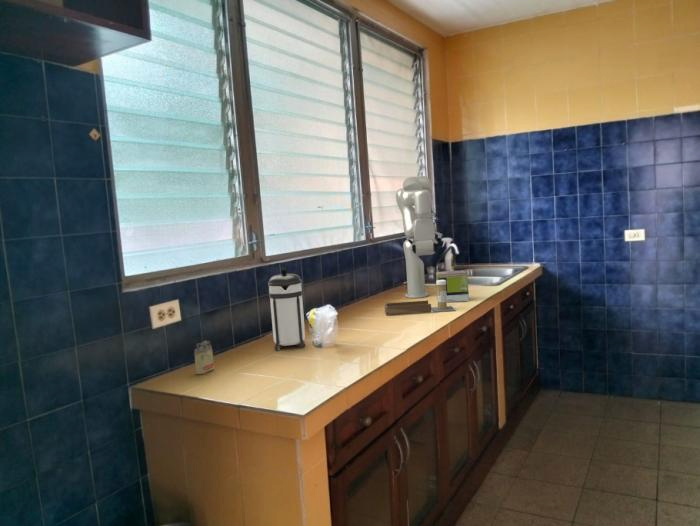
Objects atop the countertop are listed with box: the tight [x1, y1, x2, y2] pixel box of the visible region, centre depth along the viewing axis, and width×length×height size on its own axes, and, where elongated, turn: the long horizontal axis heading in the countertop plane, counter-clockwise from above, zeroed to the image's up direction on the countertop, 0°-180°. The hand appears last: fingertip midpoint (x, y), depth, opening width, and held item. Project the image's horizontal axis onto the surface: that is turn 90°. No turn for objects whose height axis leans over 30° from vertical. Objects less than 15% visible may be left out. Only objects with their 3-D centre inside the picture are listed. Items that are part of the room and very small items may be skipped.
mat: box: [431, 305, 456, 313], centre depth 258 cm, size 10×10×1 cm
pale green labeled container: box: [194, 339, 215, 375], centre depth 183 cm, size 7×4×10 cm, turn 153°
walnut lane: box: [383, 300, 432, 317], centre depth 258 cm, size 10×21×4 cm, turn 90°
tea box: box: [435, 269, 470, 303], centre depth 279 cm, size 15×10×15 cm
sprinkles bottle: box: [435, 279, 448, 309], centre depth 258 cm, size 5×5×14 cm
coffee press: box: [267, 267, 306, 351], centre depth 209 cm, size 17×16×30 cm
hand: (424, 252), depth 264 cm, fingers open, 9 cm apart
